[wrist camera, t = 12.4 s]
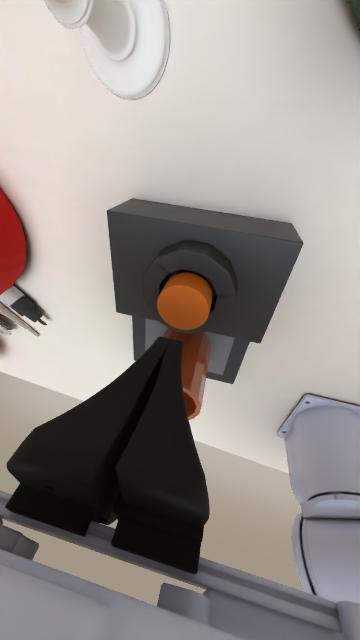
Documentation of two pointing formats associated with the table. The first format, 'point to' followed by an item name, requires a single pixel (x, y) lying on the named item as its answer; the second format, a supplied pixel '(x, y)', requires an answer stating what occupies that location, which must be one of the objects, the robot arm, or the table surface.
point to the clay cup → (193, 368)
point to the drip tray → (223, 349)
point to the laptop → (4, 328)
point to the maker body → (201, 263)
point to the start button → (185, 301)
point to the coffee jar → (355, 10)
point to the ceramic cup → (10, 245)
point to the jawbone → (16, 319)
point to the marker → (21, 304)
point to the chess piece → (120, 40)
